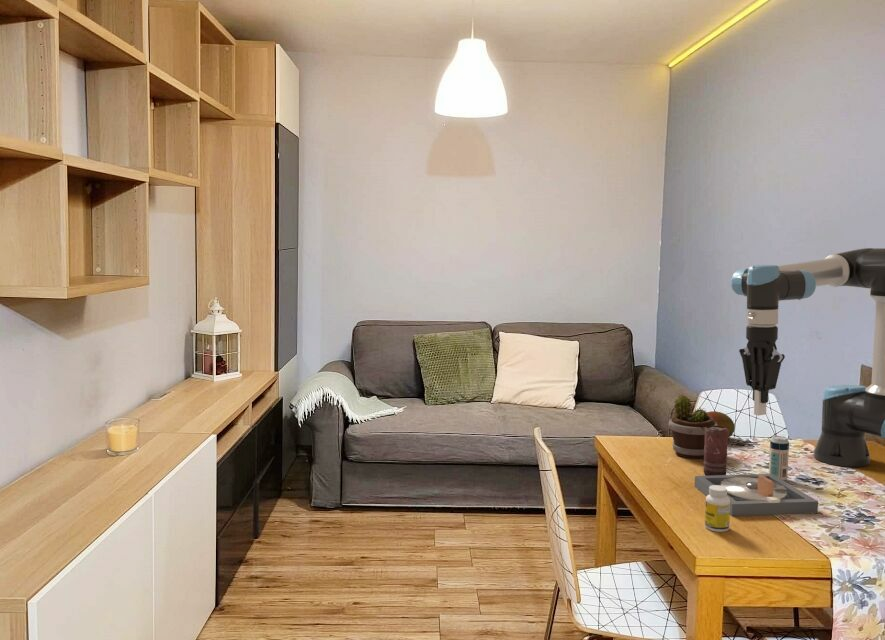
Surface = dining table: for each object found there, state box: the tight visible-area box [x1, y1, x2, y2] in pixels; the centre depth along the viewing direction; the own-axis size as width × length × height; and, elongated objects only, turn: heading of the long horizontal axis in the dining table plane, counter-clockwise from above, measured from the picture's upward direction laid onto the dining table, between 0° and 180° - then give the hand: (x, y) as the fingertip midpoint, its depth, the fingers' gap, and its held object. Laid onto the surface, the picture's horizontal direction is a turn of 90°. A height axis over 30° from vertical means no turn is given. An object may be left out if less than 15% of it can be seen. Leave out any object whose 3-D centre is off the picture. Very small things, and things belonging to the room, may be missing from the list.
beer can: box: [768, 435, 790, 482], centre depth 210 cm, size 5×5×12 cm
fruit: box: [705, 410, 736, 438], centre depth 252 cm, size 12×12×10 cm
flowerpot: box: [668, 392, 718, 459], centre depth 234 cm, size 14×15×20 cm
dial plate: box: [694, 473, 819, 517], centre depth 194 cm, size 22×22×4 cm
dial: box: [721, 476, 787, 501], centre depth 194 cm, size 16×16×6 cm
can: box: [703, 426, 730, 476], centre depth 214 cm, size 6×6×14 cm
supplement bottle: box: [704, 485, 731, 533], centre depth 175 cm, size 5×5×10 cm
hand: (760, 414), depth 195 cm, fingers closed
